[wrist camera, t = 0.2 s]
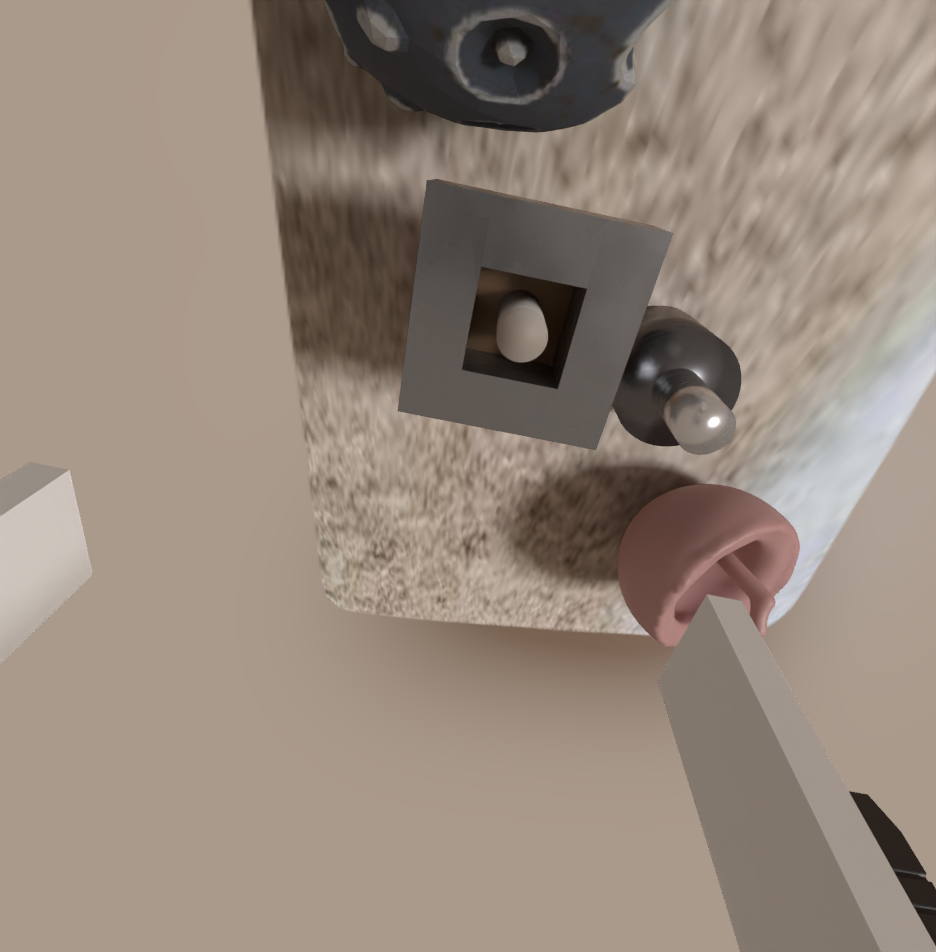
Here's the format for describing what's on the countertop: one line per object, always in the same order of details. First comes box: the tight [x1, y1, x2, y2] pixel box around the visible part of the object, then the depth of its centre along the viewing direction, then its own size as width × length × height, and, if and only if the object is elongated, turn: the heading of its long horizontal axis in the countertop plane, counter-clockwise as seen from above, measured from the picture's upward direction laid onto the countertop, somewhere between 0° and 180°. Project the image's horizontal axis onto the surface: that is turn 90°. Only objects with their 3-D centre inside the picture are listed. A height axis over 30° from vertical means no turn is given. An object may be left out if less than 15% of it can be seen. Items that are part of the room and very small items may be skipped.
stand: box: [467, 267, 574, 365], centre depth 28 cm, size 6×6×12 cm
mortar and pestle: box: [617, 484, 800, 647], centre depth 36 cm, size 12×12×12 cm
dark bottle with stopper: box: [612, 306, 741, 455], centre depth 30 cm, size 7×7×11 cm
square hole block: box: [398, 179, 673, 450], centre depth 25 cm, size 10×10×4 cm
